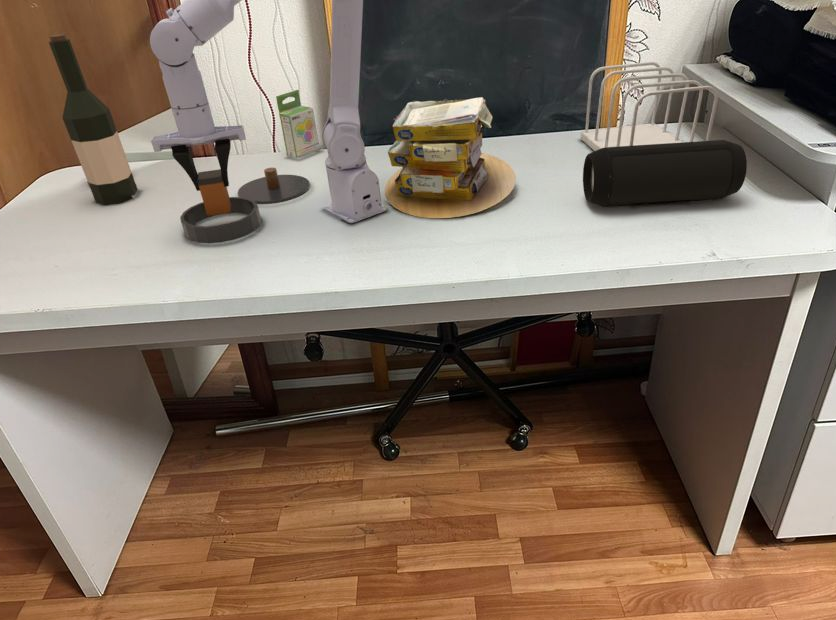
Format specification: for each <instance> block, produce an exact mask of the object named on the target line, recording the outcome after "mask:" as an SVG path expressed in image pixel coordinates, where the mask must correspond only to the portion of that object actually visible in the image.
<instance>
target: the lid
mask: <svg viewBox="0 0 836 620" xmlns="http://www.w3.org/2000/svg"><path fill="white" fill-rule="evenodd" d="M277 170H278V169H277V168H276V167H267V168H265V169H264V170H263V172H264V176H263V177H259V178H255V179H253V180H250V181H247V182H246V183H244V184H243V185H241V186H240V187H239V188H238V191H237V197H243V198H247V199H251V200H253V201H255V202H256V203H257V205H258V204H259V205H264V204H265V205H266V204H267V205H268V204H276V203H277V204H278V203H281V202H285V201H286V202H287V201H290V200H293V199H295V198H299V197H300V196H303V195H304V194H305V193H307V192H308V191H309V190H310V187H311V184H310V183H311V182H310V180H309V179H308V178H306V177H304V176H301V175H296V174H278V171H277Z"/></svg>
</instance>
